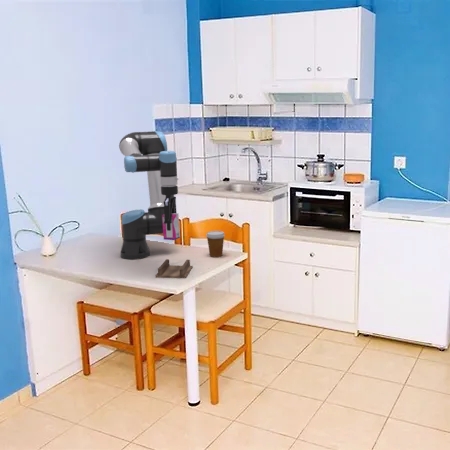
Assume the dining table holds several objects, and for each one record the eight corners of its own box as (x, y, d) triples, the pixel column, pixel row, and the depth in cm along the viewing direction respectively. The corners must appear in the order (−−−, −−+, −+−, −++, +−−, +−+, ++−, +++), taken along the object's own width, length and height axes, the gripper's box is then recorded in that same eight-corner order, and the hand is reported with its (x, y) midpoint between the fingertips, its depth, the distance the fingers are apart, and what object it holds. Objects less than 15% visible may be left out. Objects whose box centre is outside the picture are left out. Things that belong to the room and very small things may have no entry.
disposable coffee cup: (218, 259, 282) (218, 235, 280) (203, 256, 287) (202, 233, 285) (228, 254, 290) (228, 231, 288) (213, 252, 295) (212, 229, 292)
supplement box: (169, 236, 263) (167, 212, 261) (180, 237, 260) (179, 213, 258) (162, 239, 258) (161, 214, 255) (174, 240, 255) (173, 215, 253)
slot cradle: (155, 277, 255) (155, 269, 254) (163, 267, 270) (163, 259, 270) (185, 278, 253) (185, 269, 252) (192, 267, 268) (192, 259, 268)
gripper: (172, 188, 244) (174, 240, 249) (182, 182, 263) (184, 230, 268) (155, 188, 245) (158, 240, 250) (166, 182, 264) (168, 230, 269)
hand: (171, 235), depth 259 cm, fingers closed on supplement box, 7 cm apart
